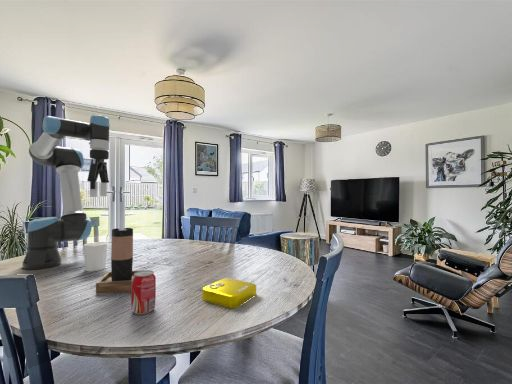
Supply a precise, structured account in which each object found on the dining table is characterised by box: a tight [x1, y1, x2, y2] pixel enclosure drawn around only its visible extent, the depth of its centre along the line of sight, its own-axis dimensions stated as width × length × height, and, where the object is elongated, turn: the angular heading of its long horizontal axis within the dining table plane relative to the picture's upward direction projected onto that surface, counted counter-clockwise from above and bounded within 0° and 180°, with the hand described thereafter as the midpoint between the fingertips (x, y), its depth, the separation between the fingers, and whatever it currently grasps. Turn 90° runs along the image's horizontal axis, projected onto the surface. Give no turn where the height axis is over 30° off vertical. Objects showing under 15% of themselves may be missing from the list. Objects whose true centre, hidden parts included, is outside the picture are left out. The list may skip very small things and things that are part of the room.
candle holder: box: [83, 241, 108, 272], centre depth 129 cm, size 10×10×12 cm
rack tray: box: [95, 269, 144, 295], centre depth 106 cm, size 14×14×4 cm
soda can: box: [130, 269, 157, 315], centre depth 85 cm, size 7×7×12 cm
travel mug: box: [110, 227, 134, 281], centre depth 107 cm, size 8×8×20 cm
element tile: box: [201, 277, 257, 309], centre depth 97 cm, size 15×15×5 cm
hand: (98, 196), depth 123 cm, fingers open, 13 cm apart
